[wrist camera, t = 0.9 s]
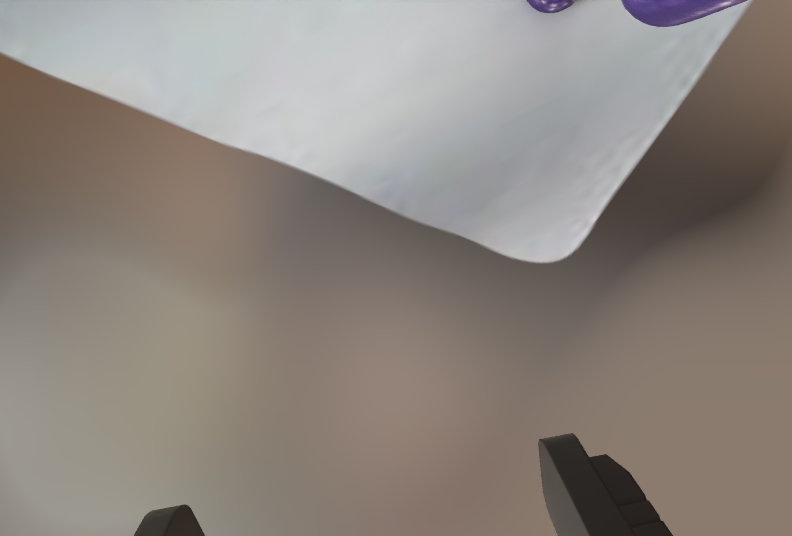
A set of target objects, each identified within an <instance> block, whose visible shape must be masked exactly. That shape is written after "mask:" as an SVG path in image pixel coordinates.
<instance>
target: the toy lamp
mask: <svg viewBox="0 0 792 536" xmlns="http://www.w3.org/2000/svg"><path fill="white" fill-rule="evenodd" d="M527 1H528V2H529V3H530V5H531V6H532V7H533V8H535V9H536V10H538V11H541V12H545V13H554V12H559V11H561V10H564V9H566V8H567V7H569V6H571V5H572V4H573V3H574V2H575V1H576V0H527ZM621 1H622V3H623V5H624V7H625V9H626V10H628V12H629V13H630V14H631V15H632V16H633V17H635V18H636V19H638V20H639V21H641V22H643V23H645V24H648V25H652V26H657V27H668V26H675V25H680V24H684V23H687V22H690V21H693V20H696V19H699V18H702V17H705V16H707V15H710V14H713V13H715V12H718V11H721V10H723V9H726V8H728V7H731V6H734V5H737V4H740V3H742V2H745V1H747V0H621Z"/></svg>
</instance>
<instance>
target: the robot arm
mask: <svg viewBox="0 0 792 536" xmlns="http://www.w3.org/2000/svg"><path fill="white" fill-rule="evenodd" d="M538 445H539V456H540V467H541V477H542V487H543V493H544V497H545V502H546V506H547V509H548V512H549V515H550V518H551V520H552V522H553V525H554V527H555V530H556V532H557V534H558V536H673V535H672V534H671V532H670V531H669V529H668V528H667V526H666V525H665V524H664V522H663V521H661V520H660V517H659V515H658V513H657V512H656V511H655V509H654V507H653V506H652V505H651V503H650V502H649V501H647V499H646V497H645V494H644V493H643V492H642V490H641V489H640V487H639V486H638V484H637V483H636V481H635V480H634V478H633V477H632V475H631V474H630V473H629V472H628V471H627V470H626V469H624V468H623V467H622V466H621V465H619V464H618V463H617V462H615V461H614V460H613V459H611V458H610V457H609V456H608V455H606V454H605V455H599V456H594V457H589V456H588V455H587V453H586V451H585V450H584V448H583V446H582V445H581V444H580V442H579V440H578V438H577V437H576V436H575V435H574V434H573V433H571V434H565V435H560V436H555V437H550V438H544V439H539V443H538ZM134 536H205V535H204V533H203V531H202V529H201V527H200V525H199V523H198V521H197V519H196V517H195V516H194V514H193V512H192V510H191V508H190V507H189V506H188V505H180V506H175V507H169V508H164V509H158V510H153V511H151V512H149V513H148V514H147V515H146V516H145V517H144V519H143V520H142V522H141V524H140V525H139V527H138V529H137V531H136V533H135V534H134Z"/></svg>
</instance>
